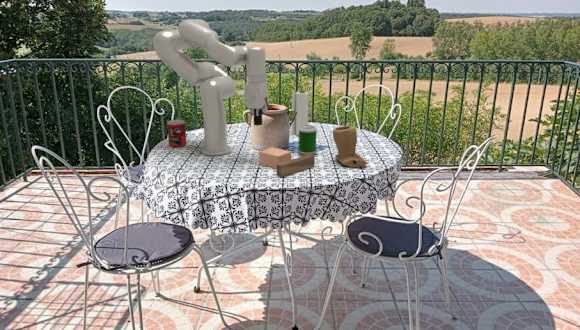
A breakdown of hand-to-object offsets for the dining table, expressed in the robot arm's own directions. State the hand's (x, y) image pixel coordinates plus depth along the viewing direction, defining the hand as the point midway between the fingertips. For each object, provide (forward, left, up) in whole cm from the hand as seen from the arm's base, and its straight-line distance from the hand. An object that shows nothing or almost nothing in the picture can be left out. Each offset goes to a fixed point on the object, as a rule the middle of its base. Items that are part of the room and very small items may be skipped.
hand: (258, 124), depth 180 cm
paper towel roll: (-15, +42, -15) cm, 47 cm away
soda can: (+9, +20, -15) cm, 26 cm away
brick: (+10, 0, -15) cm, 18 cm away
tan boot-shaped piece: (+29, +22, -15) cm, 40 cm away
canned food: (-42, -12, -15) cm, 46 cm away
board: (+21, 0, -15) cm, 26 cm away
